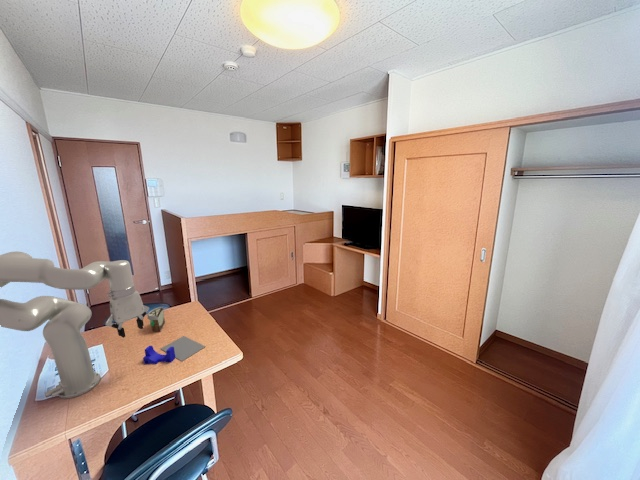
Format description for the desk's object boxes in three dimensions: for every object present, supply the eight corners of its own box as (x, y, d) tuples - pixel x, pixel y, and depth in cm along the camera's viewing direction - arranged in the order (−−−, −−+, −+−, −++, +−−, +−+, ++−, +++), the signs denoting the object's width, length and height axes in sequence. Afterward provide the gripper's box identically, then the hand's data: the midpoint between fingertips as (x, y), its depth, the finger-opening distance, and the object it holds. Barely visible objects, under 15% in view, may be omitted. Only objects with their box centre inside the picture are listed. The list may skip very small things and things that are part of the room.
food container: (153, 323, 148) (150, 307, 146) (165, 321, 150) (163, 306, 148) (146, 335, 137) (143, 318, 135) (159, 333, 139) (156, 316, 136)
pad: (181, 361, 116) (181, 360, 116) (160, 349, 125) (160, 348, 125) (205, 346, 126) (205, 346, 126) (184, 336, 135) (183, 335, 135)
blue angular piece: (144, 363, 116) (141, 352, 114) (151, 357, 120) (149, 345, 119) (169, 364, 114) (167, 353, 113) (175, 358, 119) (173, 346, 118)
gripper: (100, 302, 92) (111, 346, 97) (151, 285, 107) (158, 324, 111) (92, 298, 96) (102, 340, 100) (142, 282, 111) (149, 320, 115)
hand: (131, 331), depth 106 cm, fingers open, 5 cm apart
